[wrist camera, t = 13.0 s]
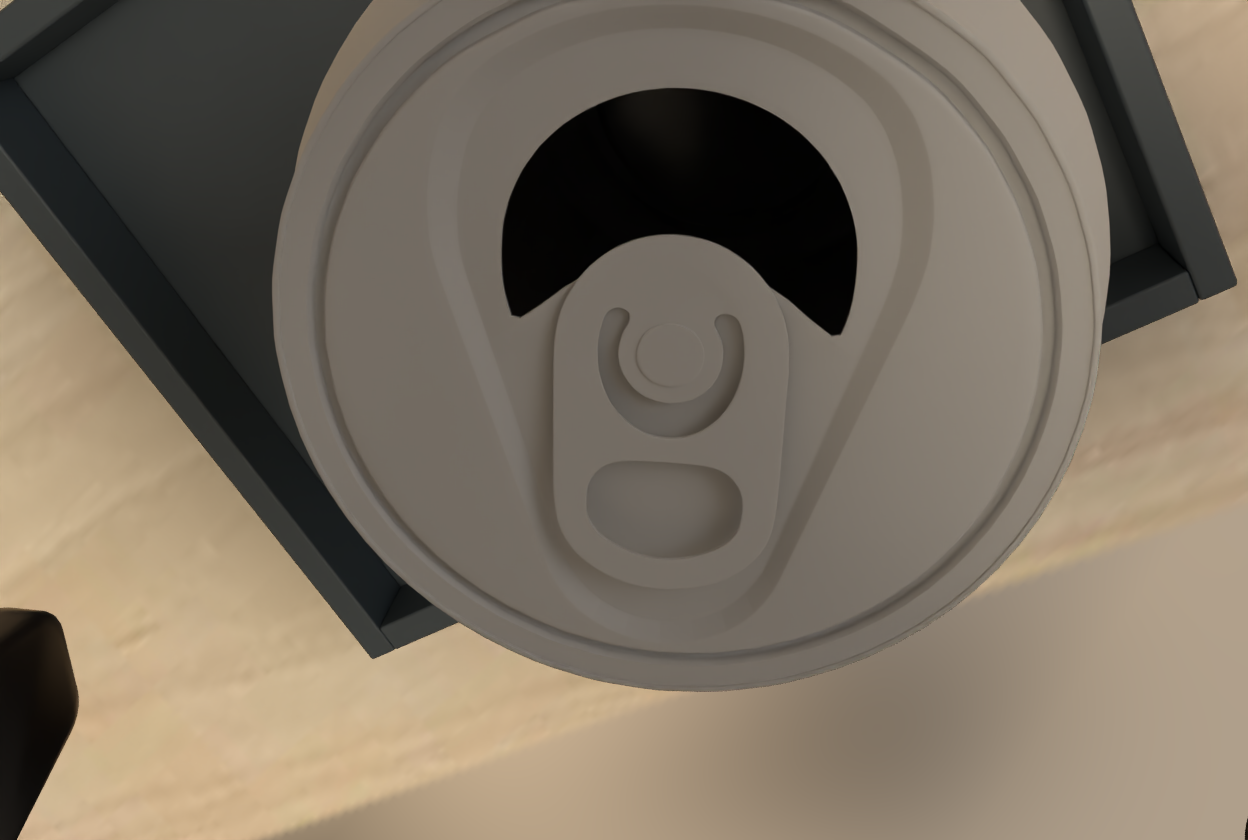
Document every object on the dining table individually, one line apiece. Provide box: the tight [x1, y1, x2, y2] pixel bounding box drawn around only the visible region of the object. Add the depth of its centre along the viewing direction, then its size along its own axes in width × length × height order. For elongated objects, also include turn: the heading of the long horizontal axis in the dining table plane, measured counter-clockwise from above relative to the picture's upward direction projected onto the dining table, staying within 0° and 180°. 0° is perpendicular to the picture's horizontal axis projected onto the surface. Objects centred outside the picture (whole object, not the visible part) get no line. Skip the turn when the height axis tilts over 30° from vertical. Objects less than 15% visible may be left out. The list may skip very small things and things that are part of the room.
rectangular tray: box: [0, 0, 1237, 659], centre depth 19 cm, size 17×13×2 cm
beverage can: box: [272, 0, 1111, 692], centre depth 13 cm, size 6×6×12 cm
